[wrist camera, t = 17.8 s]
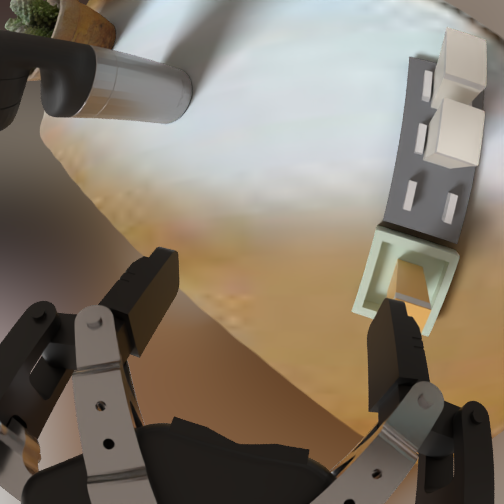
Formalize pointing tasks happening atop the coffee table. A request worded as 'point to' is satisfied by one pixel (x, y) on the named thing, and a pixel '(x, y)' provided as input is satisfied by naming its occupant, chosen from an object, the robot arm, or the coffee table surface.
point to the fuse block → (426, 167)
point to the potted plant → (61, 23)
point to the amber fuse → (411, 291)
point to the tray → (413, 251)
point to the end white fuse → (460, 68)
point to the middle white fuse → (454, 135)
